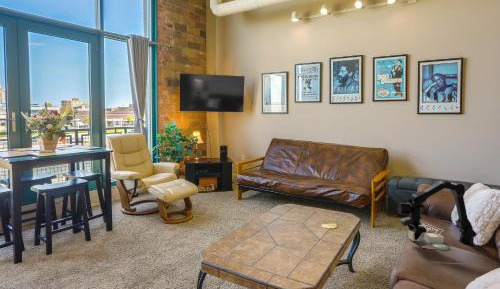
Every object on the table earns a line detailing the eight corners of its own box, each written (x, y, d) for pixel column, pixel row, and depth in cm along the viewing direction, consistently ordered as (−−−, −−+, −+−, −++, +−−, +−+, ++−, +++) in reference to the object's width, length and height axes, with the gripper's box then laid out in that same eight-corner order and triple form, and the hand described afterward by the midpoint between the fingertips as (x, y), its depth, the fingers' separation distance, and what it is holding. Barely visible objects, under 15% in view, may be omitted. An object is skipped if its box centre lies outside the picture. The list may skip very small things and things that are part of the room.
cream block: (414, 237, 207) (415, 229, 206) (418, 241, 201) (419, 233, 201) (408, 237, 207) (408, 229, 207) (412, 240, 201) (413, 233, 201)
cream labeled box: (438, 239, 206) (438, 233, 206) (443, 243, 201) (443, 237, 200) (423, 239, 207) (424, 232, 206) (428, 242, 201) (429, 236, 200)
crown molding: (409, 222, 239) (438, 224, 235) (409, 223, 239) (438, 226, 235) (419, 233, 216) (452, 236, 212) (419, 235, 216) (452, 238, 212)
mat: (433, 237, 212) (434, 236, 211) (452, 251, 191) (452, 249, 191) (407, 236, 212) (407, 234, 212) (423, 250, 191) (423, 248, 191)
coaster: (443, 244, 199) (443, 243, 199) (451, 250, 190) (451, 249, 190) (429, 244, 199) (429, 242, 199) (437, 249, 191) (437, 248, 191)
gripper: (396, 209, 212) (394, 232, 214) (409, 218, 193) (407, 243, 195) (413, 209, 212) (411, 232, 213) (428, 219, 193) (425, 244, 195)
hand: (413, 238), depth 204 cm, fingers closed on cream block, 6 cm apart
